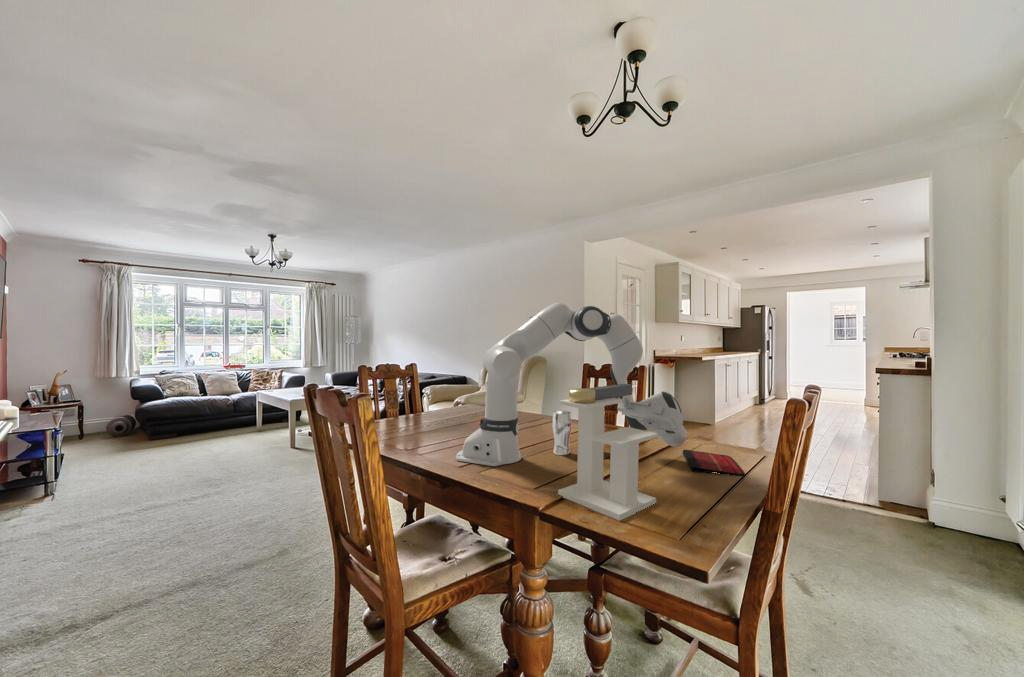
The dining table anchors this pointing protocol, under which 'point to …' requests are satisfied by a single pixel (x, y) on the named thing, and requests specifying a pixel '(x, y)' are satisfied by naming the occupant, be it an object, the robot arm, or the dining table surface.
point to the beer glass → (562, 431)
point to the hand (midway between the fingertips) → (636, 402)
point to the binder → (712, 463)
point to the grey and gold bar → (598, 393)
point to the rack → (623, 486)
